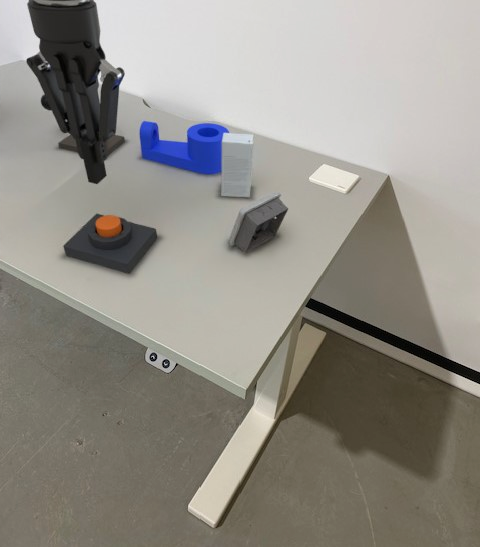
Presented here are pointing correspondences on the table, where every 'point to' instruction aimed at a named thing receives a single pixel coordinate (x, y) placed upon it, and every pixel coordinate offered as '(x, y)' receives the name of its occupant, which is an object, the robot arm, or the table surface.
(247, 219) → the electrical switch
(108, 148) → the bracket
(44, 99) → the lever
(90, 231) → the button box
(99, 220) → the button
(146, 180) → the table surface
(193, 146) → the bracket
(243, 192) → the cosmetic box
